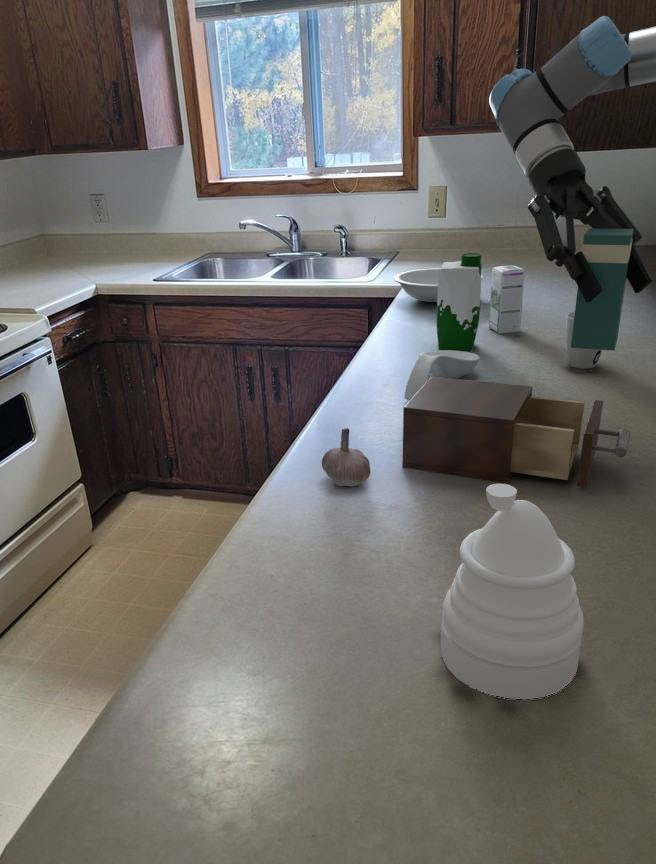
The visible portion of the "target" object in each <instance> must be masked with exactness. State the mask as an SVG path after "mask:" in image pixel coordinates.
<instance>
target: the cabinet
mask: <svg viewBox="0 0 656 864" xmlns="http://www.w3.org/2000/svg"><path fill="white" fill-rule="evenodd" d="M529 396H533V386H532V385H524V384H514V383H513V384H512V383H503V382H494V381H493V382H492V381H484V380H483V381H481V380H471V379H461V378H457V379H453V378H443V377H433V376H431V377H429V380H428V382H427V383H426V384H425V385H424V386H423V387H422V388H421V389H420V390H419V391H418V392H417V393H416V394H415V396H414V397H413V398H412V399H411V400H408V402H407V403H406V404H405V405H404V406H403V412H402V413H403V414H402V415H403V417H402V419H403V420H402V421H403V422H402V462H401V463H402V464H401V465H402V466H401V467H402V468H405V469H412V470H418V471H425V472H430V473H436V474H437V473H438V474H444V475H450V476H451V475H452V476H456V477H457V476H458V477H464V478H471V479H477V480H483V481H490V482H496V483H502V484H509V482H510V480H511V478H512V476H513V474H514V472H510V466H511V455H512V444H513V433H514V423H515V421H516V419H517V418H518V416H519V414H520V412H521V410H522V408H523V407H524V405H525V403H526V401H527V399H528V397H529Z"/></svg>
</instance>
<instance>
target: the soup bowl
mask: <svg viewBox="0 0 656 864" xmlns="http://www.w3.org/2000/svg"><path fill="white" fill-rule="evenodd" d="M440 268H441V267H438V268H437V267H434V268H431V267H430V268H421V269H419V268H418V269H413V270H412V269H411V270H408V271H402V272H400V273H398V274H396V275H395V276H394V278H393V279H394V281H395V282H396V283H398V284H400V286H401V288H402V290H403V291H404V292H405V293H406V294H407V295H408V296H410V297H411V298H413V299H415V300H418V301H422V302H427V303H428V302H429V303H437V297H438V282H439V275H440ZM483 279H484V275H483V273H481V281H483Z"/></svg>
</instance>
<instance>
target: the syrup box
mask: <svg viewBox="0 0 656 864" xmlns="http://www.w3.org/2000/svg"><path fill="white" fill-rule="evenodd" d="M491 271H492V272H491V285H490V304H489V320H488V321H489V323H488V328H489V329H490V330H492V331H493V332H495V333H497V334H511V333H520V332H521V326H522V325H521V324H522V313H523V312H522V311H523V299H524V298H523V297H524V286H525V285H524V283H525V271H526V270H525V269H524V268H522V267H519V266H516V265H499V266H494V267H492V270H491Z"/></svg>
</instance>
